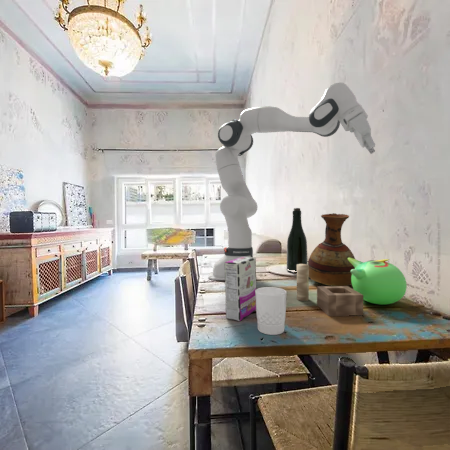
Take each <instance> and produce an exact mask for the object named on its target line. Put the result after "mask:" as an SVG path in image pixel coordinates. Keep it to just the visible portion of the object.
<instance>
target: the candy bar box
mask: <svg viewBox="0 0 450 450" xmlns="http://www.w3.org/2000/svg"><path fill="white" fill-rule="evenodd" d="M256 259H257V258H256V257H254V256H253V257H241V258H237V259H234V260H231V261H228V262H225V280H224V287H225V288H224V291H225V293H224V294H225V319H227V320H230V321H231V320H232V321H236V322H241V321H243V320H244V319H246V318H248V316H250V315H251V314H253V313H254V312H255V311H256V296H255V290H256V289H257V267H256V266H257V264H256V263H257V261H256Z"/></svg>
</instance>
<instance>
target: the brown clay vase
mask: <svg viewBox="0 0 450 450" xmlns="http://www.w3.org/2000/svg"><path fill="white" fill-rule="evenodd" d="M320 217H321V219H323V220H324V222H325V224H326V225H325V233H324V234H325V235H324V236H325V237H324V240H323V241H322V242H320V243H318V245H316V247H315V248H314V249H313V250H312V252H311V253H310V256H309V258H308V260H307V264H308V265H309V280H312V281H314V282H315V283H316V282H317V283H319V284H322V285H324V286H350V285H351V286H352V282H351V276H352V273H351V270H352V269H355V267H354V266H353V265H352V264H351V263H350V262H349V261H348V259H347V258H353V259H356V258H355V256H354V253H353V251H351V249H350V247H348V246H347V245H346V244H345V243H344V242H343V241H342V228H343V225H344V223H345V222H346V220H347V219H349V218H350V215H349V214H343V213H338V214H337V213H327V214H321V215H320Z"/></svg>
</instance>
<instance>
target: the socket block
mask: <svg viewBox="0 0 450 450" xmlns="http://www.w3.org/2000/svg"><path fill="white" fill-rule="evenodd" d="M316 305H317V306H318V307H319V308H320V309H321V310H322V312H324V313H325V314H326V315H327V316H328V317H350V316H349V315H363V316H364V300H363V295H362V294H360V293H359V292H357V291H355V290H354V289H353V287H350V286H349V285H347V286H328V285H321V286H320V285H319V286H318V285H317V286H316Z"/></svg>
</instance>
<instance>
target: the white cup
mask: <svg viewBox="0 0 450 450" xmlns="http://www.w3.org/2000/svg"><path fill="white" fill-rule="evenodd" d="M287 293H288V292H287V290H286V289H284V288H282V287H275V286H262V287H258V288H256V290H255V296H256V310H255V311H256V312H255V313H256V319H257V330H258V331H259V332H260V333H261V334H265V335H269V336H276V335H277V336H278V335H280V334H283V333H284V332H285V321H286V310H287Z"/></svg>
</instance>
